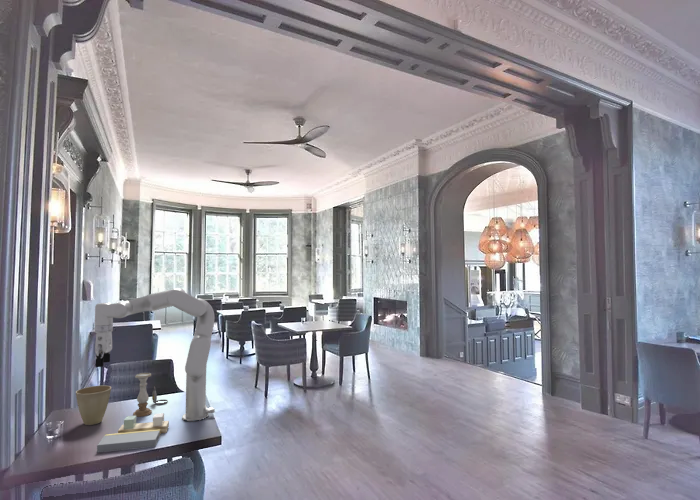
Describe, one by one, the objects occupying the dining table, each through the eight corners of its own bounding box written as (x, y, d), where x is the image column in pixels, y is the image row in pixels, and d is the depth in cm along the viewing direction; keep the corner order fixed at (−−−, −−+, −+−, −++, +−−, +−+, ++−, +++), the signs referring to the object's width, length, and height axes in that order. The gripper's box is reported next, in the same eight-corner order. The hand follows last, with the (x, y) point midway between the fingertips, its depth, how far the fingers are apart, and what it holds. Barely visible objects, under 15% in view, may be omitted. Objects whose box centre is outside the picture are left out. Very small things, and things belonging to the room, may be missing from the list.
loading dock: (160, 436, 185) (160, 429, 185) (155, 446, 174) (155, 439, 174) (105, 441, 179) (105, 434, 179) (96, 452, 168) (97, 444, 168)
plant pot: (117, 418, 207) (118, 386, 207) (91, 429, 192) (92, 395, 193) (94, 415, 211) (94, 384, 211) (67, 426, 196) (68, 392, 197)
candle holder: (155, 413, 214) (156, 373, 215) (139, 418, 207) (140, 377, 208) (145, 410, 219) (146, 371, 220) (129, 415, 212) (130, 375, 212)
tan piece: (168, 428, 195) (168, 420, 195) (166, 433, 189) (166, 426, 189) (122, 432, 190) (122, 424, 190) (117, 438, 183) (118, 430, 184)
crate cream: (164, 421, 194) (164, 413, 194) (162, 425, 189) (162, 416, 189) (154, 422, 193) (154, 413, 193) (152, 426, 188) (152, 417, 188)
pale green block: (136, 424, 191) (136, 415, 191) (133, 428, 186) (133, 419, 186) (126, 425, 190) (126, 416, 190) (123, 429, 185) (124, 420, 185)
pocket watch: (170, 402, 232) (170, 384, 233) (158, 406, 224) (159, 388, 225) (158, 400, 235) (159, 382, 235) (147, 405, 227) (147, 386, 227)
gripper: (106, 331, 190) (105, 368, 190) (117, 325, 207) (116, 360, 206) (88, 331, 188) (87, 369, 188) (101, 326, 205) (100, 361, 204)
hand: (102, 364), depth 197 cm, fingers open, 9 cm apart
